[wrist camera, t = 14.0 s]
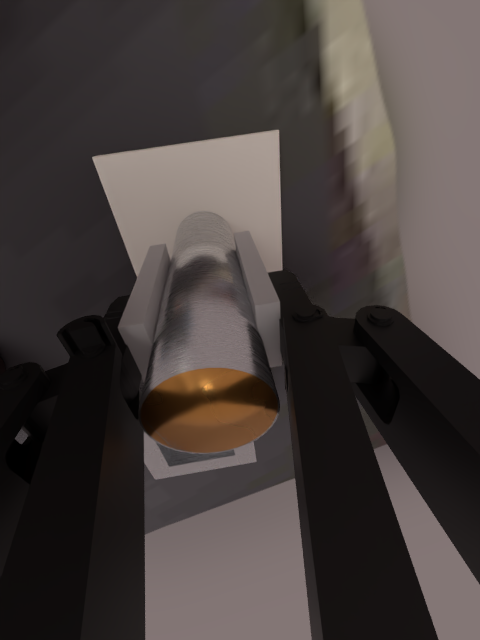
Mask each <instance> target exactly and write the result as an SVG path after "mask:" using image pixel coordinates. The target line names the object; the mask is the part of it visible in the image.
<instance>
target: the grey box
mask: <svg viewBox="0 0 480 640" xmlns="http://www.w3.org/2000/svg"><path fill="white" fill-rule="evenodd" d="M143 387H144V382H143V380H142V378H141V383H140V387H139V389H140V391H141V393H142V391H143ZM252 462H257V461H256V455H255V449H254V442H251V443H249V444H247V445H245V446H242V447H239V448H237V449H233V450H229V451H225V452H219V453H209V454H195V453H186V452H180V451H176V450H173V449H170V448H167V447H165V446H163V445H160V444H159V443H157V442H155V441H154V440H153V439H151V438H150V437H149V436H148V435H147V434H146V433H145V432H144V463H145V464H146V466H147V468H148V469H149V471H150V472H151V474H152V475H153V477H154V478H155V480H156V479H161V478H167V477H173V476H178V475H184V474H190V473H195V472H201V471H207V470H212V469H218V468H224V467H229V466H235V465H241V464H246V463H252Z"/></svg>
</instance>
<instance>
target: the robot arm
mask: <svg viewBox="0 0 480 640" xmlns="http://www.w3.org/2000/svg"><path fill="white" fill-rule="evenodd" d="M234 239H235V247H236V253H237V256H238V260H239V264H240V267H241V271H242V275H243V279H244V282H245V286H246V290H247V293H248V297H249V301H250V304H251V308H252V312H253V315H254V319H255V323H256V326H257V330H258V331H259V333H260V335H261V337H262V340H263V344H264V348H265V351H266V355H267V358H268V362H269V365H270V368H271V367H277V366H282V358H283V361H284V364H285V390H286V392H287V401H288V411H289V421H290V431H291V441H292V450H293V460H294V470H295V480H296V489H297V499H298V508H299V519H300V529H301V538H302V548H303V558H304V567H305V577H306V587H307V597H308V606H309V616H310V626H311V636H312V640H438V637H437V634H436V631H435V628H434V625H433V622H432V619H431V616H430V614H429V611H428V608H427V605H426V602H425V599H424V596H423V593H422V590H421V587H420V584H419V581H418V578H417V576H416V573H415V570H414V567H413V564H412V561H411V558H410V555H409V552H408V549H407V546H406V543H405V540H404V538H403V535H402V532H401V529H400V526H399V523H398V520H397V517H396V514H395V511H394V508H393V506H392V502H391V500H390V497H389V494H388V491H387V488H386V485H385V482H384V479H383V476H382V473H381V470H380V468H379V465H378V462H377V459H376V456H375V453H374V450H373V447H372V444H371V441H370V438H369V435H368V432H367V429H366V426H365V424H364V421H363V418H362V415H361V412H360V409H359V406H358V403H357V400H356V397H357V399H358V400H359V402H360V403H361V405H362V406H363V408H364V409H365V411H366V412H367V414H368V415H369V417H370V419H371V420H372V422H373V423H374V425H375V426H376V428H377V429H378V431H379V432H380V434H381V435H382V437H383V438H384V440H385V441H386V443H387V444H388V446H389V447H390V449H391V450H392V452H393V453H394V455H395V456H396V458H397V459H398V461H399V463H400V464H401V466H402V467H403V468H404V470H405V472H406V473H407V475H408V476H409V478H410V479H411V481H412V482H413V484H414V485H415V487H416V488H417V490H418V491H419V493H420V494H421V496H422V497H423V499H424V500H425V502H426V503H427V505H428V506H429V508H430V509H431V511H432V513H433V514H434V516H435V517H436V518H437V520H438V522H439V523H440V525H441V526H442V527H443V529H444V531H445V532H446V534H447V535H448V537H449V538H450V540H451V541H452V543H453V544H454V546H455V547H456V549H457V551H458V552H459V554H460V555H461V556H462V558H463V560H464V561H465V563H466V564H467V566H468V567H469V569H470V570H471V572H472V573H473V575H474V576H475V578H476V579H477V581H478V582H479V584H480V379H478V378H477V377H476V376H475V375H474V374H472V373H471V372H470V371H469V370H468V369H466V368H465V367H464V366H463V365H462V364H461V363H459V362H458V361H457V360H456V359H455V358H453V357H452V356H451V355H450V354H448V353H447V352H446V351H445V350H444V349H443V348H442V347H440V346H439V345H438V344H437V343H436V342H434V341H433V340H432V339H431V338H430V337H429V336H427V335H426V334H425V333H424V332H423V331H421V330H420V329H419V328H418V327H416V326H415V325H414V324H413V323H412V322H411V321H410V320H408V319H407V318H406V317H405V316H404V315H402V314H401V313H400V312H398V311H396V310H395V309H392V308H389V307H386V306H378V305H374V306H366V307H364V308H361V309H360V310H359V311H358V312H356V318H355V319H346V318H334V317H329V316H328V315H327V313H326V312H325V311H324V309H322V308H320V307H319V306H316V305H312V303H311V301H310V300H309V298H308V296H307V295H306V293H305V292H304V290H303V288H301V285H300V283H299V282H298V280H297V278H296V277H295V275H294V274H292V273H291V272H289V271H287V270H281V271H274V272H268V273H267V271H266V268H265V266H264V264H263V262H262V259H261V257H260V255H259V252H258V250H257V248H256V246H255V243H254V241H253V239H252V236H251V234H250V232H249V231H243V232H237V233H234ZM169 266H170V257H169V254H168V250H167V246H166V243H165V244H159V245H152V246H150V247H149V250H148V252H147V255H146V257H145V260H144V262H143V265H142V267H141V270H140V272H139V275H138V277H137V280H136V283H135V285H134V288H133V290H132V293H131V295H128V296H122V297H118V298H117V299H116V300H115V301H114V302H113V303H112V304H111V305H110V306H109V308H108V311H107V314H106V315H105V317H104V318H102V317H101V316H96V315H91V316H85V317H82V318H79V319H76V320H74V321H72V322H70V323H68V324H66V325H65V326H64V327H63V328H61V329H60V331H59V332H58V333H57V337H58V338H59V340H60V341H61V343H62V344H63V346H64V347H65V349H66V351H67V352H68V354H69V355H70V359H69V362H68V363H66V364H64V365H61V366H59V367H56V368H53V369H51V370H48V371H44V370H43V369H42V367H41V366H40V365H39V364H37V363H24V364H20V365H17V366H14V367H12V368H10V369H8V370H6V371H5V372H4V373H2V374H1V375H0V640H145V545H144V544H145V543H144V542H145V539H144V538H145V532H144V430H143V429H142V427H141V425H140V422H139V417H138V410H139V405H140V401H141V396H142V393H141V391H140V389H139V387H140V383H141V378H142V380H143V382H145V377H146V373H147V368H148V364H149V359H150V354H151V350H152V345H153V340H154V336H155V331H156V326H157V322H158V317H159V312H160V308H161V303H162V298H163V294H164V289H165V284H166V280H167V275H168V270H169ZM355 396H356V397H355ZM20 429H22V430H23V431H24V432H25V433H26V434H27V435H29V436H28V437H27V439H26V440H25V441H24V443H23V444H19V443H18V442H17V441H16V440H15V437H16V436H17V434H18V432H19V431H20Z"/></svg>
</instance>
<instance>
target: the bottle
mask: <svg viewBox="0 0 480 640" xmlns="http://www.w3.org/2000/svg"><path fill="white" fill-rule="evenodd" d="M5 371H6V368H5V365H4V362H3V360H2V359H1V357H0V375H1V374H2V373H4V372H5Z"/></svg>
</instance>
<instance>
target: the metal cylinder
mask: <svg viewBox="0 0 480 640" xmlns="http://www.w3.org/2000/svg"><path fill="white" fill-rule="evenodd" d="M279 409H280V402H279V397H278V394H277V390H276V387H275V383H274V380H273V376H272V372H271V369H270V365H269V362H268V358H267V355H266V351H265V348H264V344H263V340H262V337H261V335H260V333H259V331H258V330H257V326H256V323H255V319H254V315H253V312H252V308H251V304H250V301H249V297H248V293H247V290H246V286H245V282H244V279H243V275H242V271H241V267H240V264H239V260H238V256H237V253H236V247H235V241H234V237H233V234H232V231H231V228H230V226H229V225H228V223H227V222H226V221H225V220H224V219H223V218H222V217H221V216H219V215H217V214H215V213H213V212H209V211H199V212H195V213H192V214H190V215H188V216H187V217H186V218H185V219H184V220H183V221H182V222H181V223H180V225H179V227H178V229H177V233H176V238H175V243H174V247H173V252H172V256H171V261H170V266H169V270H168V275H167V280H166V284H165V289H164V294H163V298H162V303H161V308H160V312H159V317H158V322H157V326H156V331H155V336H154V340H153V345H152V350H151V354H150V359H149V364H148V368H147V373H146V377H145V382H144V387H143V391H142V396H141V401H140V405H139V410H138V417H139V422H140V425H141V427H142V429H143V430H144V432H145V433H146V434H147V435H148V436H149V437H150V438H151V439H153V440H154V441H155V442H157V443H159V444H160V445H163V446H165V447H167V448H170V449H173V450H176V451H180V452H186V453H195V454H209V453H219V452H225V451H229V450H233V449H237V448H239V447H242V446H245V445H247V444H249V443H251V442H253V441H255V440H257V439H258V438H259V437H261V436H262V435H264V434H265V433H266V432H267V431H268V430H269V429H270V428H271V427H272V425H273V424H274V423H275V421H276V419H277V417H278V414H279Z"/></svg>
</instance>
